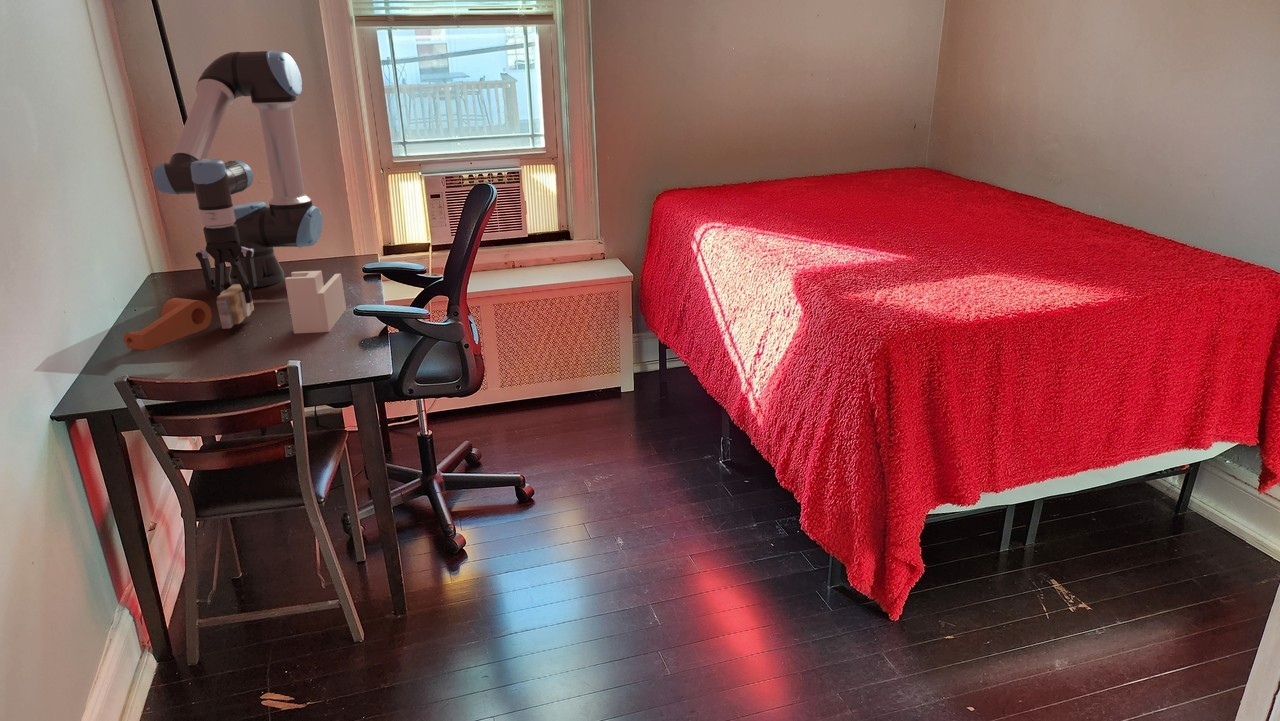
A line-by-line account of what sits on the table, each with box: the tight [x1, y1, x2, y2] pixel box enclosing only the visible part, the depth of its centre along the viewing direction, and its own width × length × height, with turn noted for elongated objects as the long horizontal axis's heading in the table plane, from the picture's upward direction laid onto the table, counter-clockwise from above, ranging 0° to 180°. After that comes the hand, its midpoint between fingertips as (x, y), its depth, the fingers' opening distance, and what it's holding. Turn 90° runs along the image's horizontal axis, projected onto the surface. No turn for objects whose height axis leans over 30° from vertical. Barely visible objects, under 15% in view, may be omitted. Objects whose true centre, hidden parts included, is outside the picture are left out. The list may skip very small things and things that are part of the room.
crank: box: [123, 297, 213, 351], centre depth 207 cm, size 20×8×8 cm, turn 159°
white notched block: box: [284, 270, 347, 335], centre depth 215 cm, size 8×20×14 cm, turn 6°
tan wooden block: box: [216, 284, 255, 330], centre depth 210 cm, size 15×4×7 cm, turn 6°
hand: (238, 315), depth 213 cm, fingers closed on tan wooden block, 4 cm apart
